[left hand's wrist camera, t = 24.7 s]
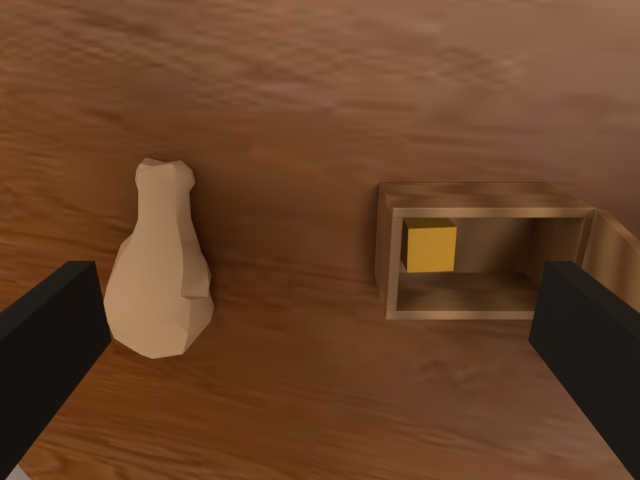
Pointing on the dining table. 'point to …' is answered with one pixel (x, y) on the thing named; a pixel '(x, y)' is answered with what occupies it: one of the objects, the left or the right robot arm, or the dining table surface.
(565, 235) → the wooden box
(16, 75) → the dining table surface
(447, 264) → the block
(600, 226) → the lid
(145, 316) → the squash
